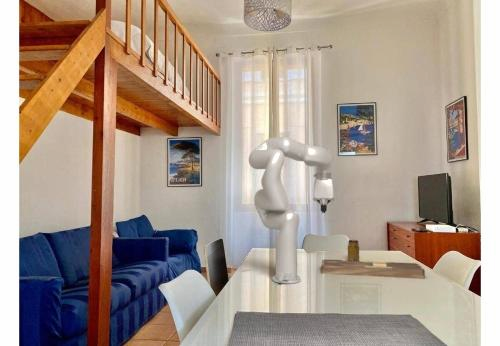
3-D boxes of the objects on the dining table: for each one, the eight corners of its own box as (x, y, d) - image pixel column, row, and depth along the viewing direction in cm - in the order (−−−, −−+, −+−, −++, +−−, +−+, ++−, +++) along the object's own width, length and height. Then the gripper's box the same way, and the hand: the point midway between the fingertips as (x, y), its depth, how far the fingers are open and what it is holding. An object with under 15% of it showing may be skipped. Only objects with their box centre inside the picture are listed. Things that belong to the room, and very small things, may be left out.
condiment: (352, 260, 208) (352, 239, 209) (365, 263, 202) (365, 240, 202) (344, 262, 204) (344, 240, 204) (357, 265, 197) (357, 242, 197)
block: (386, 275, 175) (386, 264, 175) (373, 274, 177) (373, 264, 177) (384, 272, 181) (384, 262, 181) (371, 271, 183) (371, 261, 183)
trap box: (424, 278, 169) (424, 269, 169) (321, 273, 179) (321, 264, 179) (418, 272, 181) (418, 263, 181) (322, 267, 191) (322, 259, 191)
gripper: (308, 176, 189) (308, 212, 189) (338, 176, 186) (338, 213, 185) (309, 176, 197) (309, 211, 196) (338, 177, 193) (338, 212, 192)
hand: (323, 212), depth 190 cm, fingers closed
